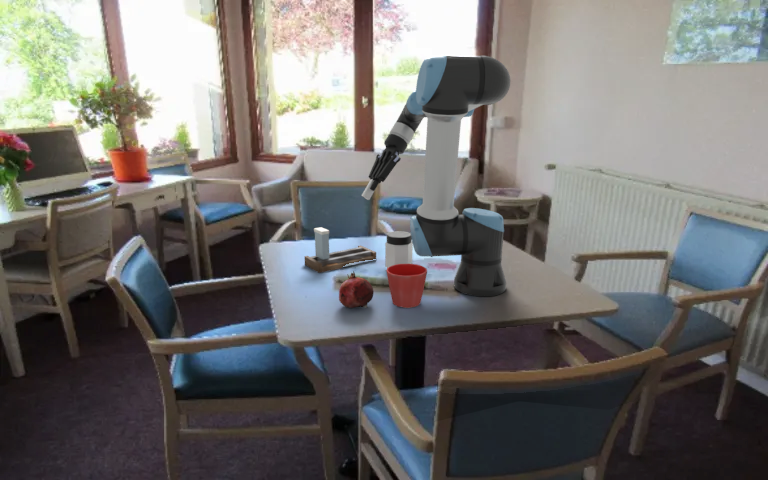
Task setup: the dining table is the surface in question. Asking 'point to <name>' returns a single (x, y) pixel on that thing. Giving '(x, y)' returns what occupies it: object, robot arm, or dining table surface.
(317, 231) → the slider tab
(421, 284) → the flower pot
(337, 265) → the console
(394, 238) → the jar
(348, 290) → the fruit
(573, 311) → the dining table surface
